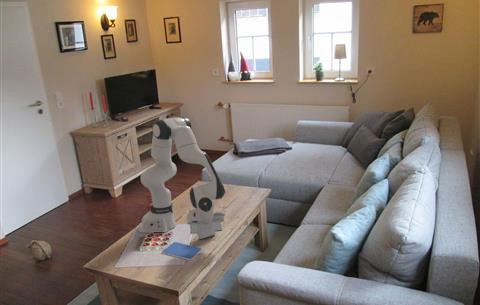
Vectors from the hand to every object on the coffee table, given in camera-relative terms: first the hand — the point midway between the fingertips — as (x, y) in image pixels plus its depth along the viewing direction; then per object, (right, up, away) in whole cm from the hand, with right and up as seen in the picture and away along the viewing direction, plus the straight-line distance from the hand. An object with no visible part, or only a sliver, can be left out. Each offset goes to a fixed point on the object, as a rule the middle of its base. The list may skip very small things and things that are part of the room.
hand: (205, 223), depth 222 cm
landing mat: (-1, -5, +17) cm, 18 cm away
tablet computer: (-12, -14, -9) cm, 21 cm away
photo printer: (0, -9, +5) cm, 10 cm away
